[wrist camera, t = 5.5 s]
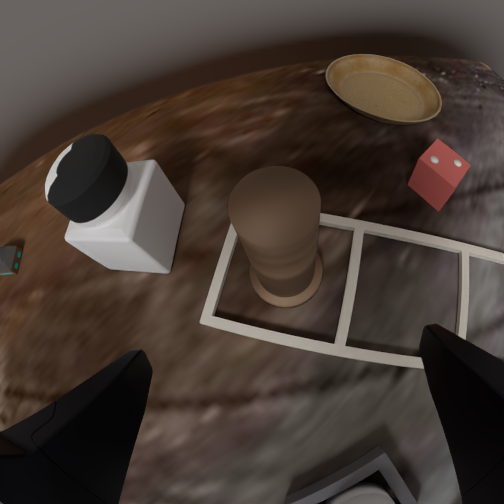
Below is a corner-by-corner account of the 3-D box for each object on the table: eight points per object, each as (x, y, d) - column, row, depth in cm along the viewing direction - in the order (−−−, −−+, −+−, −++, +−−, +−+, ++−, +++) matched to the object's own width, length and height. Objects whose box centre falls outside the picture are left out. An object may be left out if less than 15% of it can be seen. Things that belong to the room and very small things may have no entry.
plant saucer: (422, 77, 31) (425, 64, 28) (449, 147, 26) (456, 132, 23) (325, 64, 34) (324, 49, 32) (325, 129, 29) (326, 111, 26)
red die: (455, 189, 23) (470, 164, 19) (438, 212, 23) (455, 187, 19) (425, 164, 25) (437, 137, 21) (407, 184, 24) (419, 157, 21)
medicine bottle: (186, 204, 27) (127, 113, 16) (171, 274, 25) (86, 203, 14) (126, 206, 29) (59, 133, 18) (108, 269, 26) (21, 211, 15)
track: (535, 265, 18) (538, 263, 18) (532, 374, 15) (536, 374, 14) (239, 203, 26) (238, 200, 26) (201, 324, 23) (199, 322, 22)
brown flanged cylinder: (335, 283, 22) (357, 216, 13) (274, 321, 22) (251, 282, 12) (296, 229, 24) (290, 142, 15) (239, 264, 24) (197, 191, 14)
